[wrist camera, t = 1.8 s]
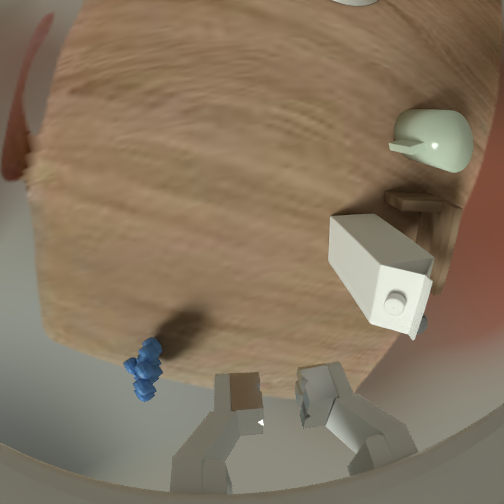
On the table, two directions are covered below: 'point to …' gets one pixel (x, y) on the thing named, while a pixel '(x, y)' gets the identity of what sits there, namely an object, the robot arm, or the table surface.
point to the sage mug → (434, 138)
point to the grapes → (145, 368)
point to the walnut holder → (432, 229)
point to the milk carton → (381, 270)
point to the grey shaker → (422, 324)
